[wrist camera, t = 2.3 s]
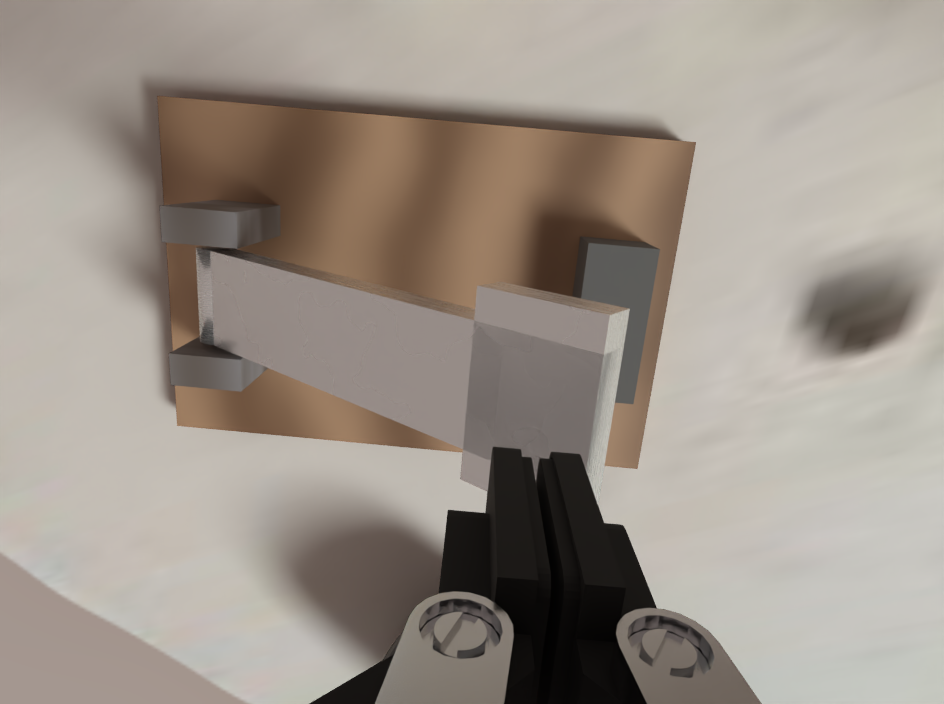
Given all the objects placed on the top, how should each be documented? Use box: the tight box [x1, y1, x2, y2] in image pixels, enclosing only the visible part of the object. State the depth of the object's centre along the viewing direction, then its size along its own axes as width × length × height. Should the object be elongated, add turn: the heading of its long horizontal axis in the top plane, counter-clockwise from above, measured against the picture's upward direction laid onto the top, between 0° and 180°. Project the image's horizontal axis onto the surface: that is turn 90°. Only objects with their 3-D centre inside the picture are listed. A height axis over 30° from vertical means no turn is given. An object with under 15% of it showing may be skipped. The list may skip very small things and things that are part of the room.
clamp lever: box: [196, 246, 630, 504], centre depth 21 cm, size 19×6×2 cm
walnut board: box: [157, 96, 696, 469], centre depth 28 cm, size 24×16×6 cm, turn 85°
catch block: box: [572, 236, 660, 404], centre depth 28 cm, size 3×7×3 cm, turn 175°
